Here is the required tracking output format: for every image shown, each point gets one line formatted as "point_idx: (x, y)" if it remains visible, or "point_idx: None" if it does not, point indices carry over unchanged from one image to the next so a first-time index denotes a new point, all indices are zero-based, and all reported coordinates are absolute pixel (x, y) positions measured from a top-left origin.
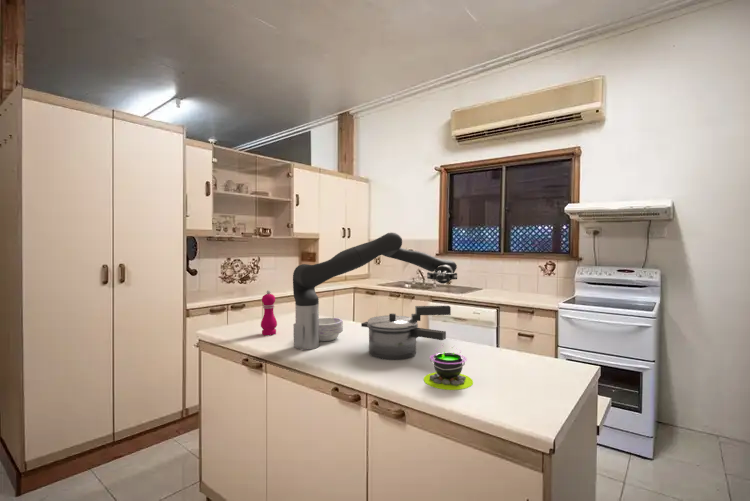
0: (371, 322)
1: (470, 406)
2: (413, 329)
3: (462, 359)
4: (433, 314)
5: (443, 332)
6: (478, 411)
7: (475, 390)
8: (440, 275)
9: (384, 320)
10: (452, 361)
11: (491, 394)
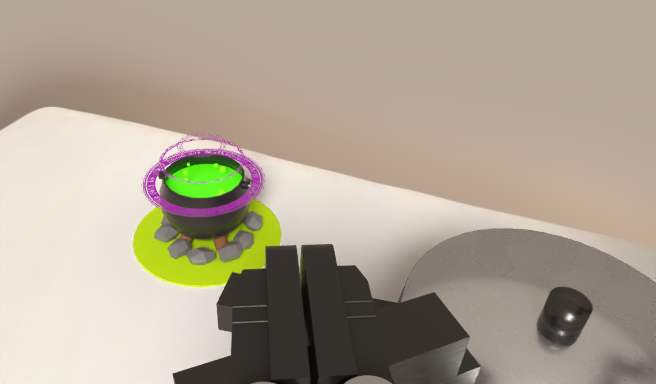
0: (611, 261)
1: (160, 147)
2: (394, 303)
3: (159, 174)
4: None
5: (228, 284)
6: (147, 137)
7: (136, 200)
8: (291, 245)
9: (593, 314)
10: (191, 159)
11: (99, 191)
